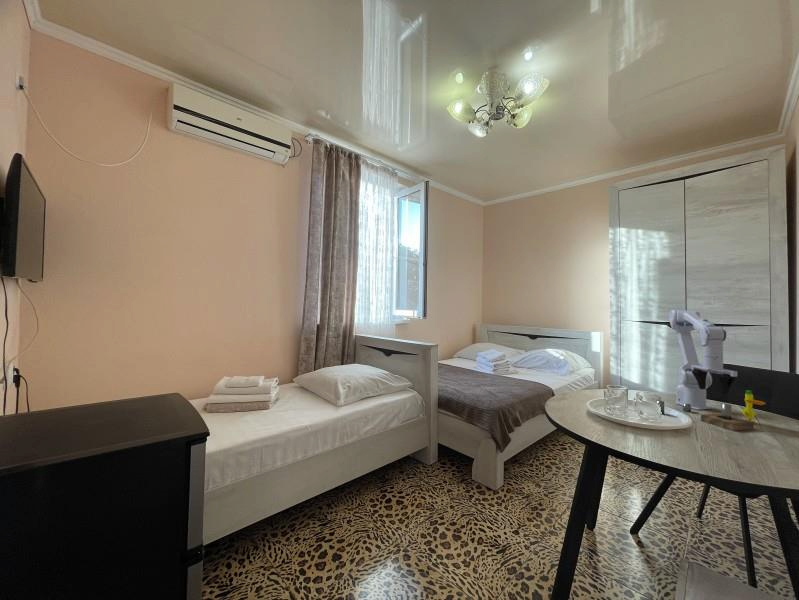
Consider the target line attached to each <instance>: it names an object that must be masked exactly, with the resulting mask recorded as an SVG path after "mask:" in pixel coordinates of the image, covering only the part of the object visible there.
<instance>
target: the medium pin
mask: <svg viewBox="0 0 799 600" xmlns="http://www.w3.org/2000/svg"><path fill="white" fill-rule="evenodd" d="M655 401H656V402H657V403H658V404H660V407H661V412H662V414H661V415H665V401H664V400H659V399H656V400H655ZM656 402H655V403H656Z"/></svg>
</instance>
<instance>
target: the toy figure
mask: <svg viewBox="0 0 799 600" xmlns="http://www.w3.org/2000/svg"><path fill="white" fill-rule="evenodd" d="M744 394H745V395H744V396H745V397H744V399H743V402H745V407H746V408H744V409H741V408H739V410H740V411H741V413H742V414H743V415H744V416H745V419H747V420H749V421H753V425H755V424H756V423H757V422H756V421H754V420H752V419H754V418H755V417H756V411H754V409H753V407H754V406H753V405H758V406H763V405H766V402H764V401H761V400H756V399H754V395H753V394H754V393H752V390H745V393H744Z"/></svg>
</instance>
